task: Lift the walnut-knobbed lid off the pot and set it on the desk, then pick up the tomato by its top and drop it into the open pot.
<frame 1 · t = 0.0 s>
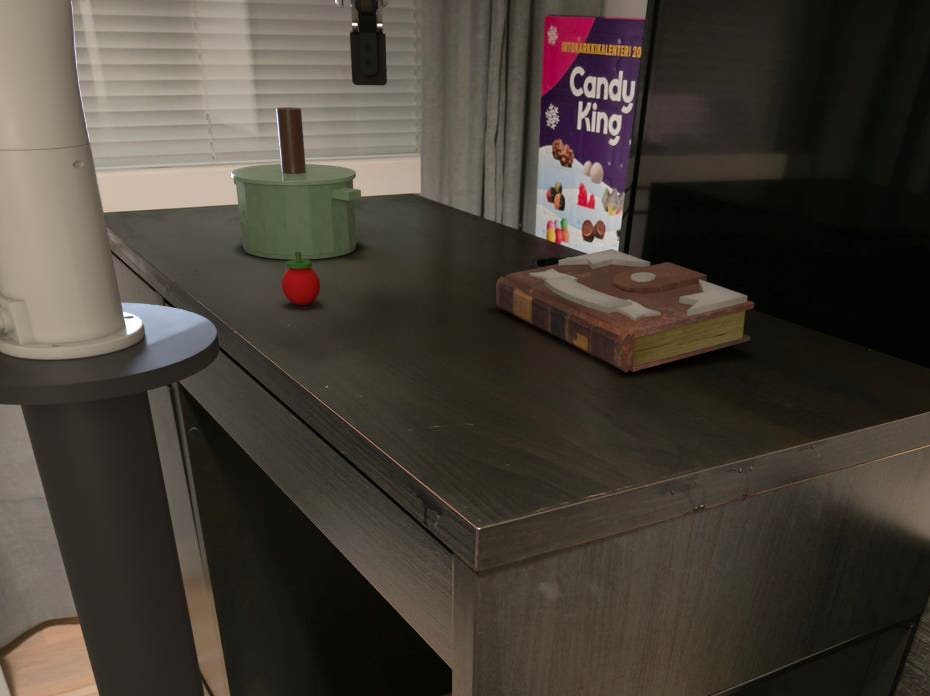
hand: (369, 81, 89), 20 cm above the table, tool pointing down, fingers open, 9 cm apart
book: (617, 332, 92), on the table
tomato: (302, 304, 98), on the table
pot: (300, 247, 121), on the table
lid: (294, 176, 117), point 8 cm above the table, touching pot
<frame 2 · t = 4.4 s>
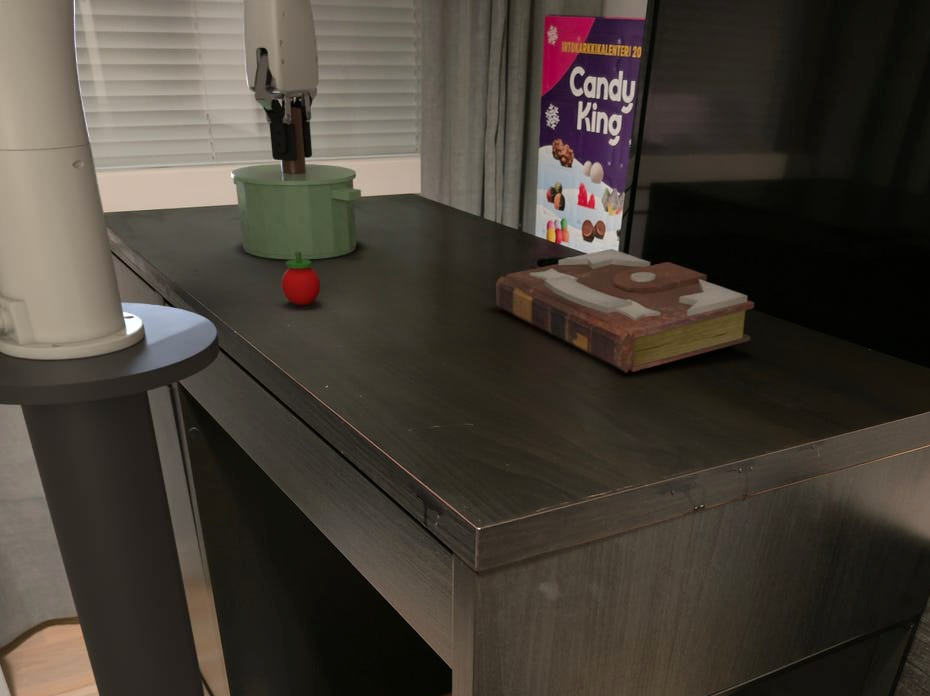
hand: (292, 156, 115), 11 cm above the table, tool pointing down, fingers closed on lid, 3 cm apart
lid: (294, 176, 117), point 9 cm above the table, touching gripper, pot
everything else where it was.
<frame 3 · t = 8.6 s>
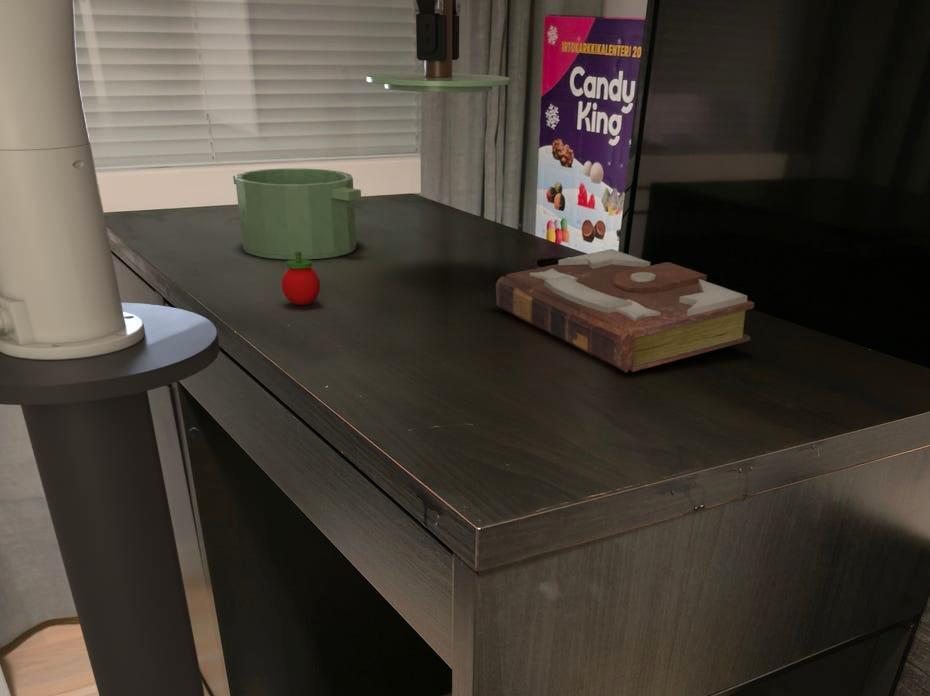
hand: (438, 58, 98), 22 cm above the table, tool pointing down, fingers closed on lid, 3 cm apart
lid: (438, 82, 100), point 20 cm above the table, touching gripper
everything else where it was.
when the fingers open (3 cm above the table, at t = 12.9 s): lid stays where it is, point 1 cm above the table.
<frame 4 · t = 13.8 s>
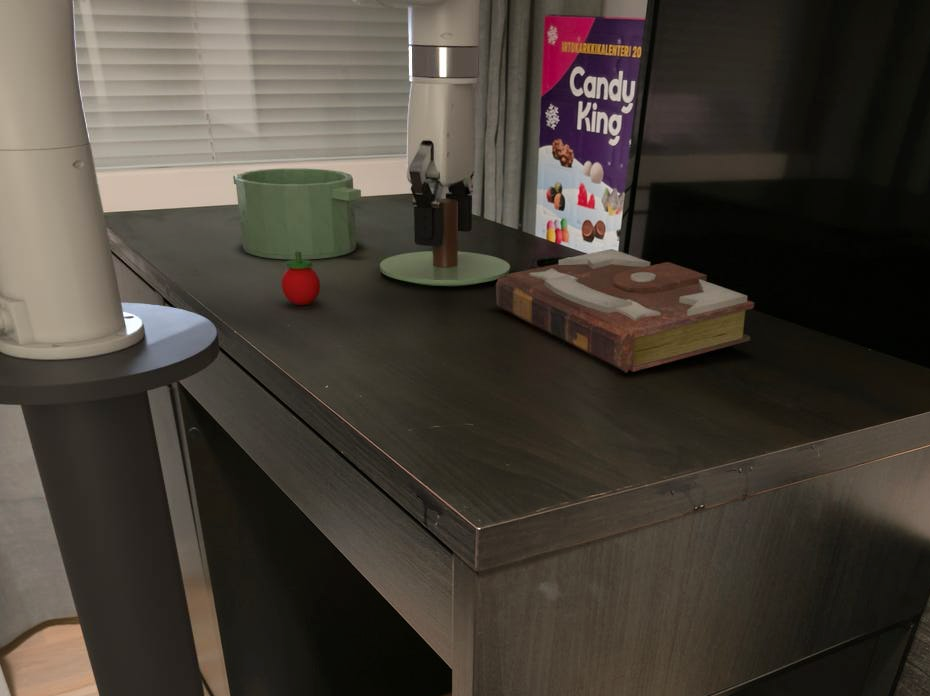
hand: (444, 237, 108), 4 cm above the table, tool pointing down, fingers open, 9 cm apart
lid: (445, 269, 110), point 1 cm above the table
everything else where it was.
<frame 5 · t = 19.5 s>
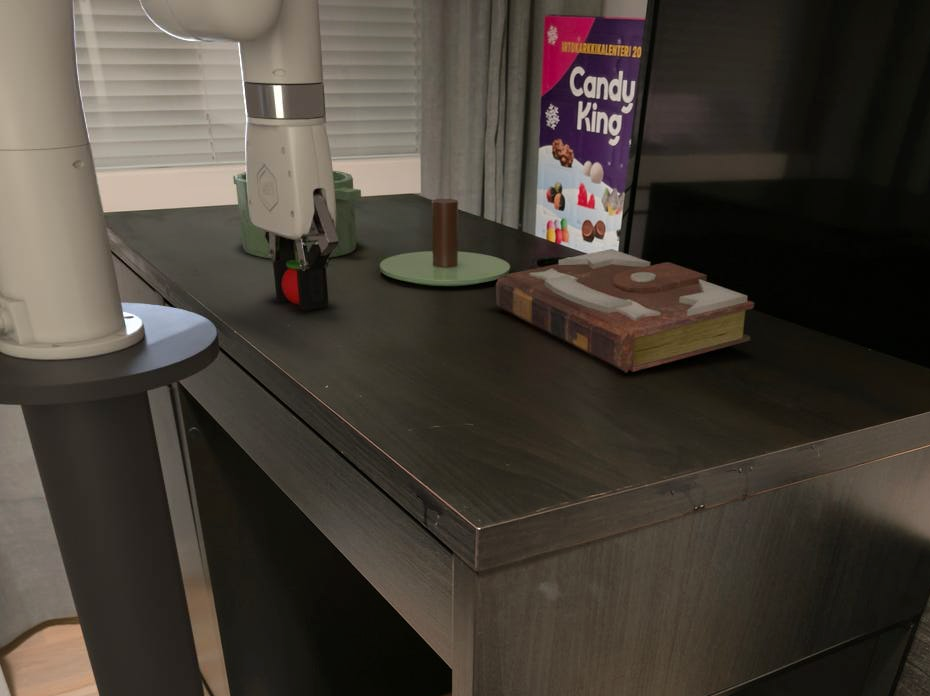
hand: (302, 301, 97), 0 cm above the table, tool pointing down, fingers closed on tomato, 3 cm apart
tomato: (302, 304, 98), on the table, touching gripper
everything else where it was.
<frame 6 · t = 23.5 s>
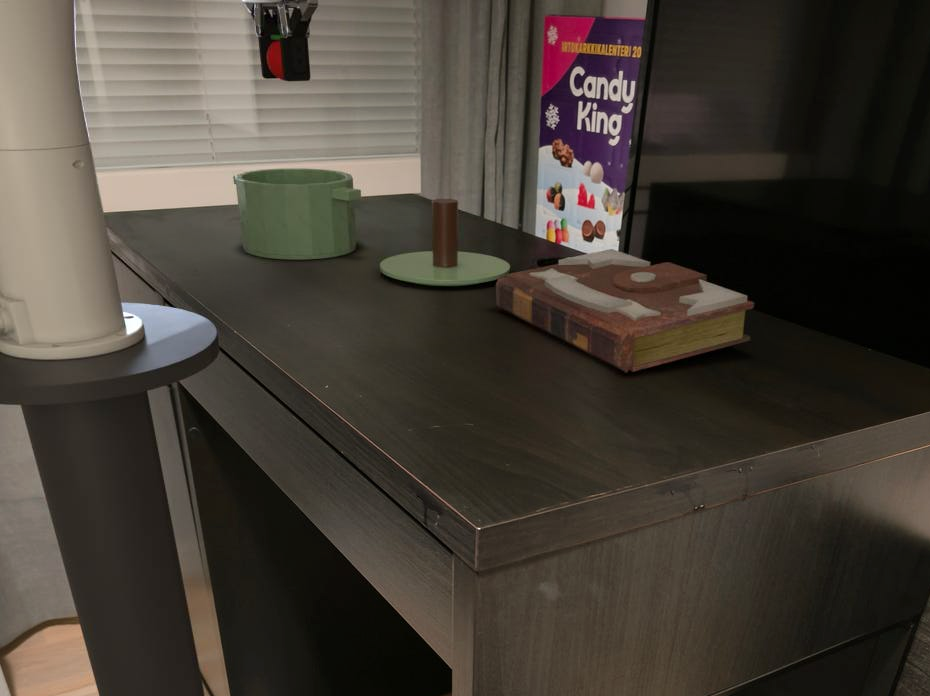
hand: (286, 77, 103), 20 cm above the table, tool pointing down, fingers closed on tomato, 3 cm apart
tomato: (286, 80, 103), point 19 cm above the table, touching gripper
everything else where it was.
when the fingers open (7 cm above the table, at t = 27.6 s): tomato drops 6 cm, resting on pot.
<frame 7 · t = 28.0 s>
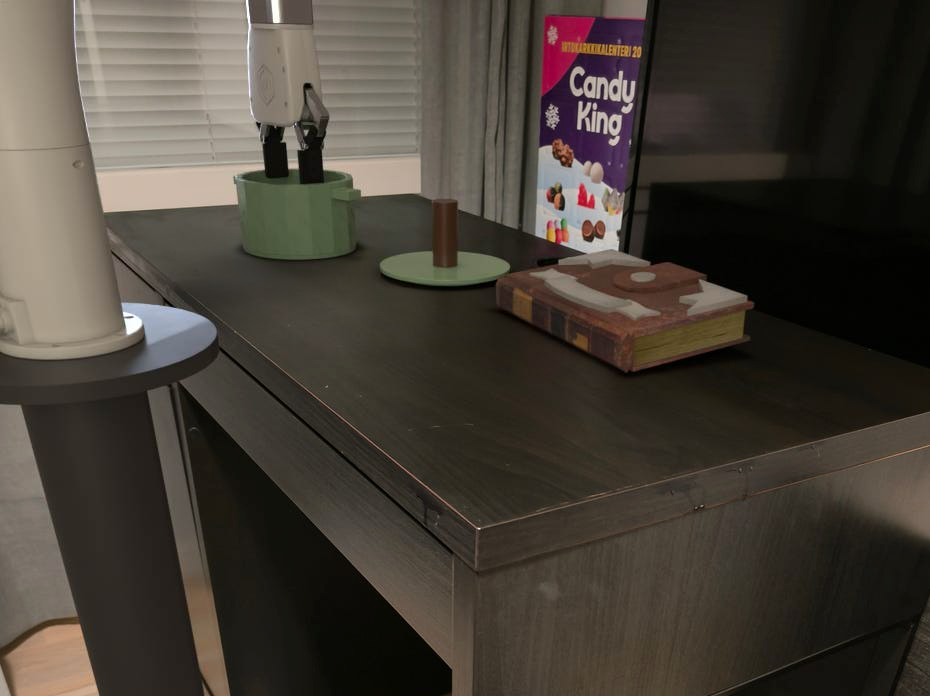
hand: (294, 180, 117), 8 cm above the table, tool pointing down, fingers open, 7 cm apart
tomato: (300, 243, 121), resting on pot
everything else where it was.
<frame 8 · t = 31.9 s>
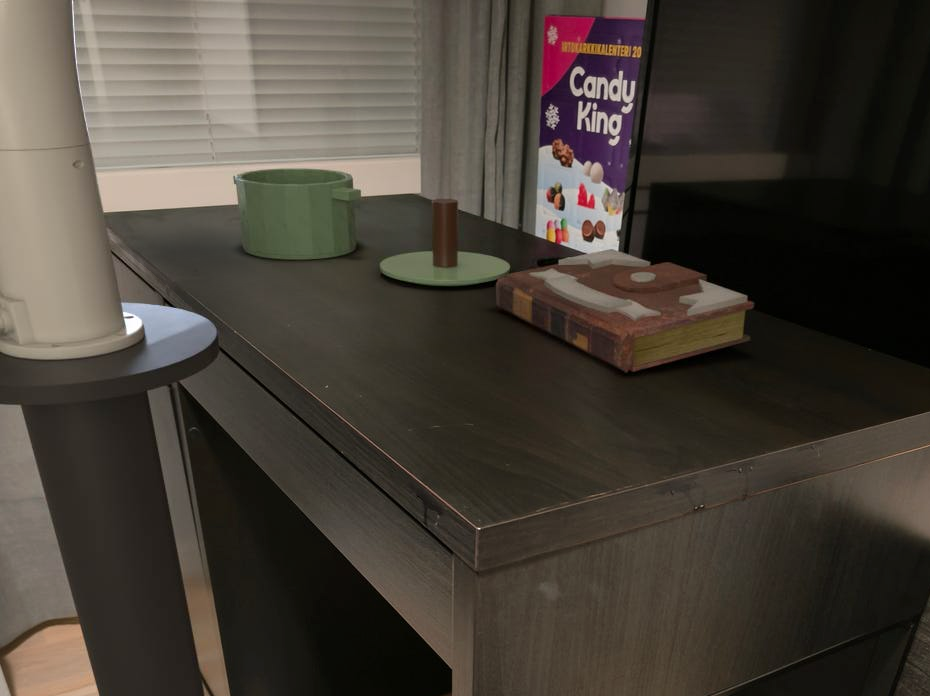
tomato: (302, 229, 121), point 2 cm above the table, tilted 78°, touching pot
everything else where it was.
at the end: tomato inside the target area in the pot (0.8 cm from its centre), point 2.1 cm above the pot's base; lid point 0.6 cm above the table; lid inside the target area (0.1 cm from its centre), point 0.6 cm above the table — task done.
